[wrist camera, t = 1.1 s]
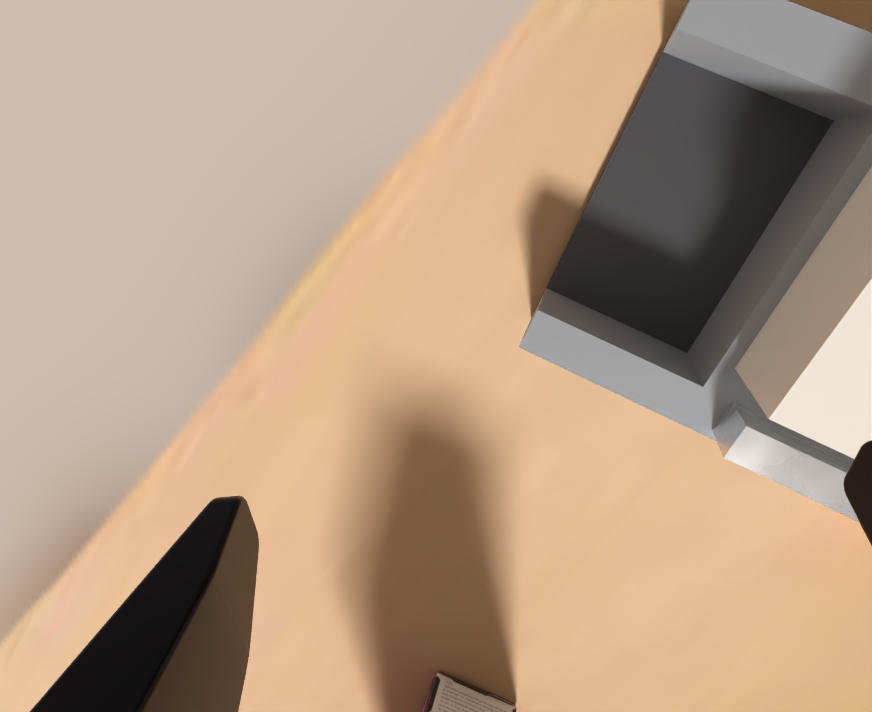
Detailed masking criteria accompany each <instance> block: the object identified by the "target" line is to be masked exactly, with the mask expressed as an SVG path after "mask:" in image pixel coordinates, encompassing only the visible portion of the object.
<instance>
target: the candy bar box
mask: <svg viewBox="0 0 872 712" xmlns="http://www.w3.org/2000/svg"><path fill="white" fill-rule="evenodd" d="M422 712H516V706H515V705H514V704H512V703H510V702H508V701H506V700H504V699H502V698H500V697H498V696H496V695H493V694H490V693H487V692H484V691H482V690H479V689H477V688H474V687H471V686H469V685H467V684H464V683H462V682H460V681H458V680H456V679H453V678H451V677H448V676H446V675H443V674H441V673H436V674H435V676H434V679H433V682H432V685H431V688H430V691H429V693H428V696H427V699H426V702H425V705H424V708H423V711H422Z"/></svg>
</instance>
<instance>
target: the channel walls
mask: <svg viewBox="0 0 872 712" xmlns="http://www.w3.org/2000/svg"><path fill="white" fill-rule="evenodd" d="M712 431H713V433H714V436H715V438H716V441H717V443H718V445H719V448H720V450H721V452H722V455H723V457H724V458H726V459H728V460H730V461H732V462H734V463H736V464H738V465H741V466H743V467H745V468H747V469H749V470H751V471H753V472H755V473H757V474H759V475H761V476H764V477H766V478H768V479H770V480H772V481H774V482H776V483H778V484H780V485H782V486H784V487H787V488H789V489H791V490H793V491H795V492H797V493H799V494H801V495H803V496H805V497H807V498H810V499H812V500H814V501H816V502H818V503H820V504H822V505H824V506H826V507H828V508H830V509H833V510H835V511H837V512H839V513H841V514H843V515H845V516H847V517H849V518H851V519H853V520H856V521H858V522H859V520H858V518H857V516H856V514H855V512H854V510H853V508H852V506H851V504H850V502H849V500H848V499H847V497H846V494H845V491H844V485H843V482H844V477H845V475H846V473H847V472H848V470H849V468H850V466H851V464H852V462H853V461H854V459H853V458H851V457H849V456H847V455H845V454H842V453H840V452H838V451H836V450H834V449H832V448H830V447H827V446H825V445H823V444H821V443H819V442H817V441H815V440H812V439H810V438H808V437H806V436H804V435H802V434H800V433H797V432H795V431H793V430H791V429H789V428H787V427H785V426H782V425H780V424H778V423H776V422H774V421H772V420H770V419H768V418H767V417H766V416H764V415H762V414H760V413H758V412H756V411H754V410H751V409H749V408H747V407H745V406H743V405H741V404H739V403H736V402H734V401H731V403H730V404H729V405H728V407H727V408H726V410H725V411H724V413H723V414H722V416H721V417H720V418H719V420H718V421H717V423H716V424H715V426H714V427H713V429H712Z"/></svg>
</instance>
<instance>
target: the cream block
mask: <svg viewBox="0 0 872 712" xmlns="http://www.w3.org/2000/svg"><path fill="white" fill-rule="evenodd" d="M735 369H736V371H737V372H738V374H739V375H740V377H741V378H742V380H743V381H744V383H745V384H746V386H747V387H748V389H749V390H750V392H751V393H752V395H753V396H754V398H755V399H756V401H757V402H758V404H759V405H760V407H761V408H762V410H763V411H764V413H765V415H766V416H767V418H768V419H770V420H772V421H774V422H776V423H778V424H780V425H782V426H785V427H787V428H789V429H791V430H793V431H795V432H797V433H800V434H802V435H804V436H806V437H808V438H810V439H812V440H815V441H817V442H819V443H821V444H823V445H825V446H827V447H830V448H832V449H834V450H836V451H838V452H840V453H842V454H845V455H847V456H849V457H851V458H853V459H855V457H856V455H857V453H858V451H859V450H860V448H861V446H862V445H863V444H864V443H866V442H867V441H871V440H872V166H871V168H870V169H869V171H868V172H867V174H866V175H865V177H864V178H863V180H862V181H861V183H860V184H859V186H858V187H857V188H856V190H855V191H854V193H853V194H852V196H851V197H850V199H849V200H848V202H847V203H846V205H845V206H844V208H843V209H842V211H841V212H840V214H839V215H838V217H837V218H836V220H835V221H834V222H833V224H832V225H831V227H830V228H829V230H828V231H827V233H826V234H825V236H824V237H823V239H822V240H821V242H820V243H819V245H818V246H817V248H816V249H815V251H814V252H813V253H812V255H811V256H810V258H809V259H808V261H807V262H806V264H805V265H804V267H803V268H802V270H801V271H800V273H799V274H798V276H797V277H796V279H795V280H794V282H793V283H792V285H791V286H790V287H789V289H788V290H787V292H786V293H785V295H784V296H783V298H782V299H781V301H780V302H779V304H778V305H777V307H776V308H775V310H774V311H773V313H772V314H771V316H770V317H769V318H768V320H767V321H766V323H765V324H764V326H763V327H762V329H761V330H760V332H759V333H758V335H757V336H756V338H755V339H754V341H753V342H752V344H751V345H750V347H749V348H748V350H747V351H746V352H745V354H744V355H743V357H742V358H741V360H740V361H739V363H738V364H737V366H736V367H735Z"/></svg>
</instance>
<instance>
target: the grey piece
mask: <svg viewBox="0 0 872 712" xmlns="http://www.w3.org/2000/svg"><path fill="white" fill-rule="evenodd" d="M871 166H872V33H871V32H868V31H866V30H863V29H861V28H858V27H855V26H853V25H850V24H848V23H845V22H842V21H840V20H837V19H835V18H832V17H829V16H827V15H824V14H821V13H819V12H816V11H814V10H811V9H808V8H806V7H803V6H801V5H798V4H795V3H793V2H790V1H788V0H688V2H687V4H686V5H685V7H684V9H683V11H682V14H681V16H680V18H679V20H678V22H677V24H676V26H675V28H674V30H673V32H672V34H671V36H670V38H669V40H668V42H667V44H666V46H665V48H664V50H663V52H662V54H661V56H660V58H659V60H658V62H657V64H656V66H655V68H654V70H653V72H652V74H651V76H650V78H649V81H648V83H647V85H646V87H645V89H644V91H643V93H642V95H641V97H640V99H639V101H638V103H637V105H636V107H635V109H634V111H633V113H632V115H631V117H630V119H629V121H628V123H627V125H626V127H625V129H624V131H623V133H622V135H621V137H620V139H619V141H618V143H617V145H616V148H615V150H614V152H613V154H612V156H611V158H610V160H609V162H608V164H607V166H606V168H605V170H604V172H603V174H602V176H601V178H600V180H599V182H598V184H597V186H596V188H595V190H594V192H593V194H592V196H591V198H590V200H589V202H588V204H587V206H586V208H585V210H584V213H583V215H582V217H581V219H580V221H579V223H578V225H577V227H576V229H575V231H574V233H573V235H572V237H571V239H570V241H569V243H568V245H567V247H566V249H565V251H564V253H563V255H562V257H561V259H560V261H559V263H558V265H557V267H556V269H555V271H554V273H553V275H552V277H551V280H550V282H549V284H548V286H547V288H546V290H545V292H544V294H543V296H542V298H541V300H540V302H539V304H538V306H537V308H536V310H535V312H534V314H533V316H532V318H531V320H530V323H529V325H528V327H527V330H526V332H525V334H524V337H523V339H522V341H521V344H520V346H519V347H520V348H522V349H524V350H526V351H528V352H530V353H532V354H534V355H536V356H539V357H541V358H543V359H545V360H547V361H549V362H551V363H553V364H555V365H558V366H560V367H562V368H564V369H566V370H568V371H570V372H572V373H574V374H576V375H579V376H581V377H583V378H585V379H587V380H589V381H591V382H593V383H595V384H597V385H600V386H602V387H604V388H606V389H608V390H610V391H612V392H614V393H616V394H618V395H621V396H623V397H625V398H627V399H629V400H631V401H633V402H635V403H637V404H639V405H642V406H644V407H646V408H648V409H650V410H652V411H654V412H656V413H658V414H661V415H663V416H665V417H667V418H669V419H671V420H673V421H675V422H677V423H679V424H682V425H684V426H686V427H688V428H690V429H692V430H694V431H696V432H698V433H700V434H703V435H705V436H707V437H709V438H711V439H713V440H715V441H716V438H715V436H714V433H713V431H712V429H713V427H714V426H715V424H716V423H717V421H718V420H719V418H720V417H721V416H722V414H723V413H724V411H725V410H726V408H727V407H728V405H729V404H730V403H731V401H734V402H736V403H739V404H741V405H743V406H745V407H747V408H749V409H751V410H754V411H756V412H758V413H760V414H762V415H764V416H766V415H765V413H764V411H763V410H762V408H761V407H760V405H759V404H758V402H757V401H756V399H755V398H754V396H753V395H752V393H751V392H750V390H749V389H748V387H747V386H746V384H745V383H744V381H743V380H742V378H741V377H740V375H739V374H738V372H737V371H736V369H735V367H736V366H737V364H738V363H739V361H740V360H741V358H742V357H743V355H744V354H745V352H746V351H747V350H748V348H749V347H750V345H751V344H752V342H753V341H754V339H755V338H756V336H757V335H758V333H759V332H760V330H761V329H762V327H763V326H764V324H765V323H766V321H767V320H768V318H769V317H770V316H771V314H772V313H773V311H774V310H775V308H776V307H777V305H778V304H779V302H780V301H781V299H782V298H783V296H784V295H785V293H786V292H787V290H788V289H789V287H790V286H791V285H792V283H793V282H794V280H795V279H796V277H797V276H798V274H799V273H800V271H801V270H802V268H803V267H804V265H805V264H806V262H807V261H808V259H809V258H810V256H811V255H812V253H813V252H814V251H815V249H816V248H817V246H818V245H819V243H820V242H821V240H822V239H823V237H824V236H825V234H826V233H827V231H828V230H829V228H830V227H831V225H832V224H833V222H834V221H835V220H836V218H837V217H838V215H839V214H840V212H841V211H842V209H843V208H844V206H845V205H846V203H847V202H848V200H849V199H850V197H851V196H852V194H853V193H854V191H855V190H856V188H857V187H858V186H859V184H860V183H861V181H862V180H863V178H864V177H865V175H866V174H867V172H868V171H869V169H870V168H871ZM766 417H767V416H766Z"/></svg>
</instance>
